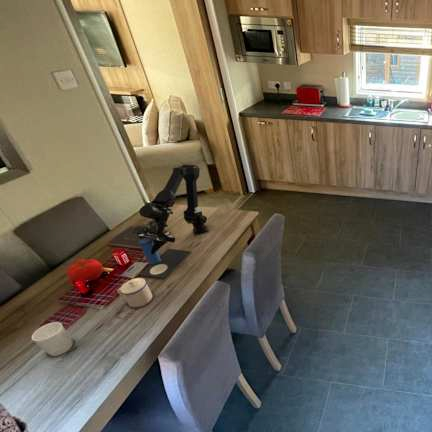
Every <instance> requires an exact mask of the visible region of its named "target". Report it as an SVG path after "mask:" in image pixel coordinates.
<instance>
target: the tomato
mask: <svg viewBox="0 0 432 432" xmlns="http://www.w3.org/2000/svg"><path fill="white" fill-rule="evenodd" d="M103 271H104V267H103V264H102V263H100V262H99V261H98V260H97V259H93V258H89V259H77V260H75V262H74V263H72V264H71V265H69V268H67V274H66V275H67V277H68V279H69V280H71V281H73V282H75V281H76V280H78V279H81V278H82V279H85V280H88V281H90V282H91V280H92V281H95V280H97V279H99V278H100V277H101V276H102V274H103Z"/></svg>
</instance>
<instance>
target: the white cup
mask: <svg viewBox="0 0 432 432" xmlns="http://www.w3.org/2000/svg"><path fill="white" fill-rule="evenodd" d="M31 340H32V341H33V342H34V343H35V344H36V345H37V346H38V347H40V349H42V350H43V351H44V352H46V353H47V354H48V355H49V356H52V357H56V356H57V357H58V356H60V355H63V354H65V353H66V352H68V351H69V350H70V349H71V348H72V347H73V345H74V341H73V340H72V339H71V336H70V334H69V333H68V332H67V330H66V328H65V327H64V326H63V324H62V323H61V322H58V321H53V322H49V323H46V324H44V325H42V326H40V327H39V328H37V329H36V330H34V332H33V333H32V335H31Z"/></svg>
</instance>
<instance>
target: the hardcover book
mask: <svg viewBox="0 0 432 432" xmlns="http://www.w3.org/2000/svg"><path fill="white" fill-rule="evenodd" d="M135 228H137V225H130V226H128V227H127V228H125V229H124V230H122V231H121V232H120V233H118V234H117V235H116V236H114V237H113V238H111V239H110V240H109V241H107V244H109V246H110V247H118V248H125V249H126V248H127V249H134V250H142V248H141V246H140V245H139V243H138V242H139V240H141V239H140V238H139V237H138V235H139V234H134V233H132V232H133V229H135ZM163 233H165V235H170V234H171V230H170V229H164V231H163ZM152 234H153V233H152ZM150 238H153V239H155V240H157V238H156V237H152V236H150ZM153 239H152V241H153ZM153 244H154V241H153Z"/></svg>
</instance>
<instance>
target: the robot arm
mask: <svg viewBox="0 0 432 432" xmlns="http://www.w3.org/2000/svg"><path fill="white" fill-rule="evenodd" d="M200 171H201V169H200V167H199V166H198V165H197V164H189V163H183V164H182V165H180V166H175V167H173V169H172V172H171V175H170V176H169V179H168V181H167V182H166V184H165V186H164V188H163V189H162V190H160V191H159V192H157V194H156V196H155V197H154V198H153V200H151V202H145V204H144V205H142V206H141V207H140V209H139V216H141V217H142V218H146V219H150V220H149V221H148V222H147V223H144V224H137V225H136V226H137V228H135V229H133V232H132V233H134V234H139V235H138V237H139V238H140V239H142V238H145V237H150V236H152V237H156V238H157V240H155V239H153V238H152V239H153V241H154V245H153V248H152V251H151V254H154V253H155V252H156V251H157V252H158V251H159V250H160V249H161V248H162V247H163V246H165V245H166V244H169V243H175V241H176V236H174V235H170V234H169V235H165V233H163V231H164V230H165V229H166V228H168V226H169V225H168V224H167V222H168V220H169V217H170V215H174V211H173V210H172V208H173V207H174V206H175V204H176V200H177V196H176V194H177V191H178V189H179V187H180V185H181V183H182V181H183V180H184V181H185V191H186V192H185V193H186V204H187V207H186V209H185V210H183V219H184V221H185V222H186V223H187V224H188V225H189V224H190V225H192V230H193V233H194V235H195V236H197V235H201V234H204V233H207V232H208V231H209V230H208V229H207V225H206V223H207V221H208V217H207V216H206V215H203V211H202V210H201V208H200V207H199V202H198V201H199V200H198V188H197V187H198V186H197V181H198V179H199V178H200ZM152 233H153V234H152ZM141 252H142V253H144V252H143V250H142V249H141Z"/></svg>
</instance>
